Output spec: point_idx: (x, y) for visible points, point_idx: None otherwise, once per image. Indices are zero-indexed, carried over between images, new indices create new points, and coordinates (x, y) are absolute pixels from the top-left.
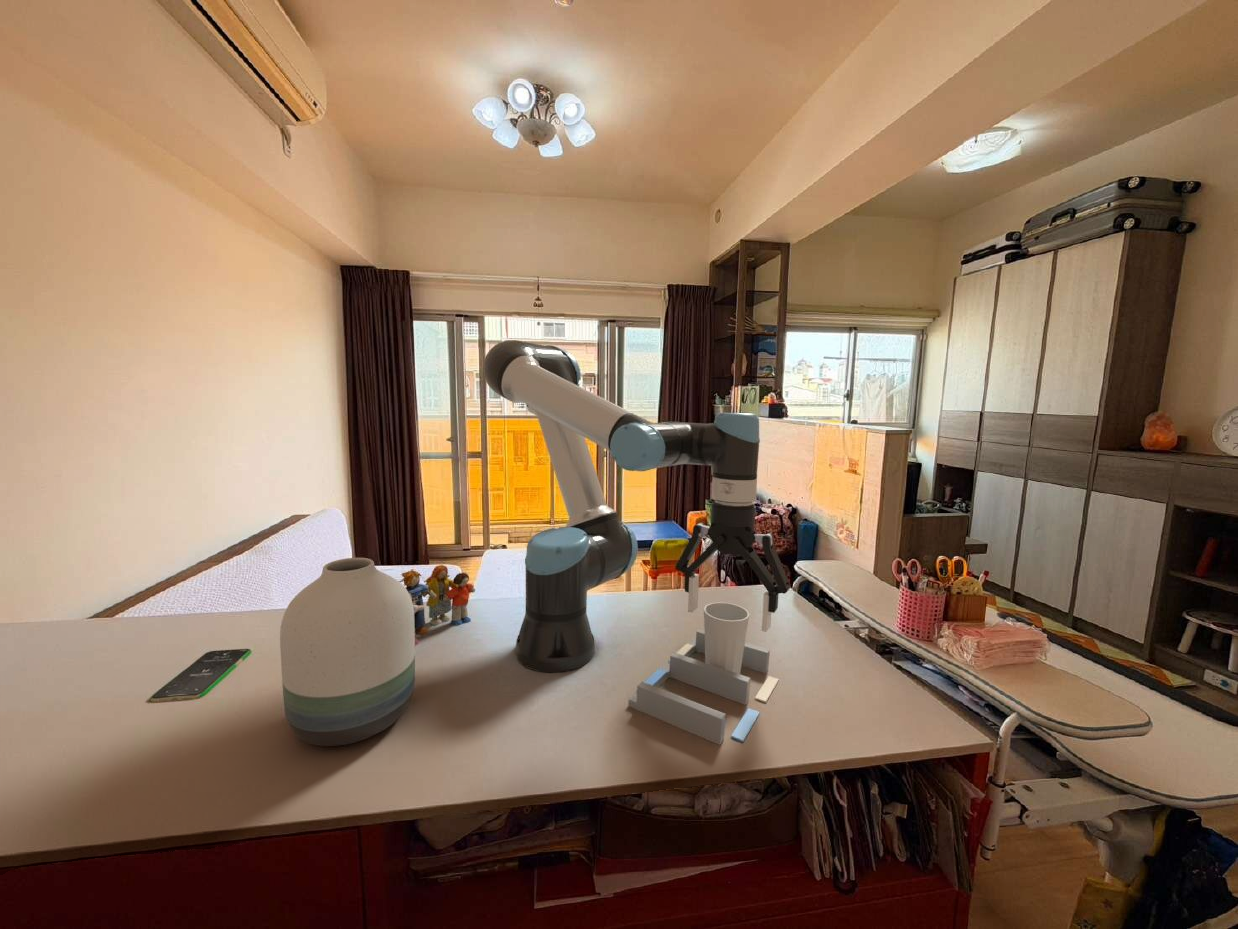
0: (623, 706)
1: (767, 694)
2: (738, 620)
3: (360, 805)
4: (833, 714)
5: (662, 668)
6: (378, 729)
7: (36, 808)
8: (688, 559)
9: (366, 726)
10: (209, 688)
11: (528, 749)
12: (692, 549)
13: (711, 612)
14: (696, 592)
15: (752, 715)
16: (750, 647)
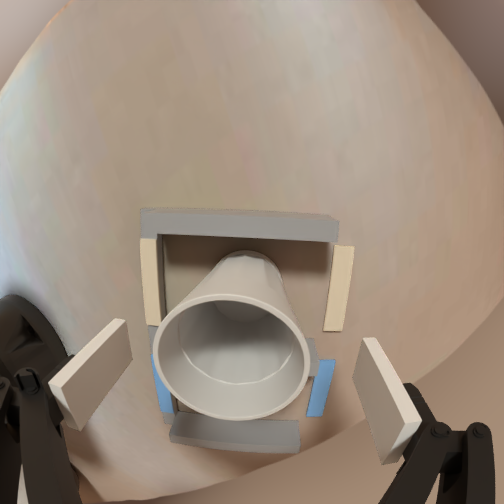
0: (163, 418)
1: (342, 311)
2: (286, 404)
3: (123, 499)
4: (434, 295)
5: (152, 347)
6: (77, 479)
7: None
8: (10, 437)
9: (78, 487)
10: None
11: (146, 471)
12: (13, 499)
13: (172, 323)
14: (100, 363)
15: (326, 373)
16: (292, 237)
